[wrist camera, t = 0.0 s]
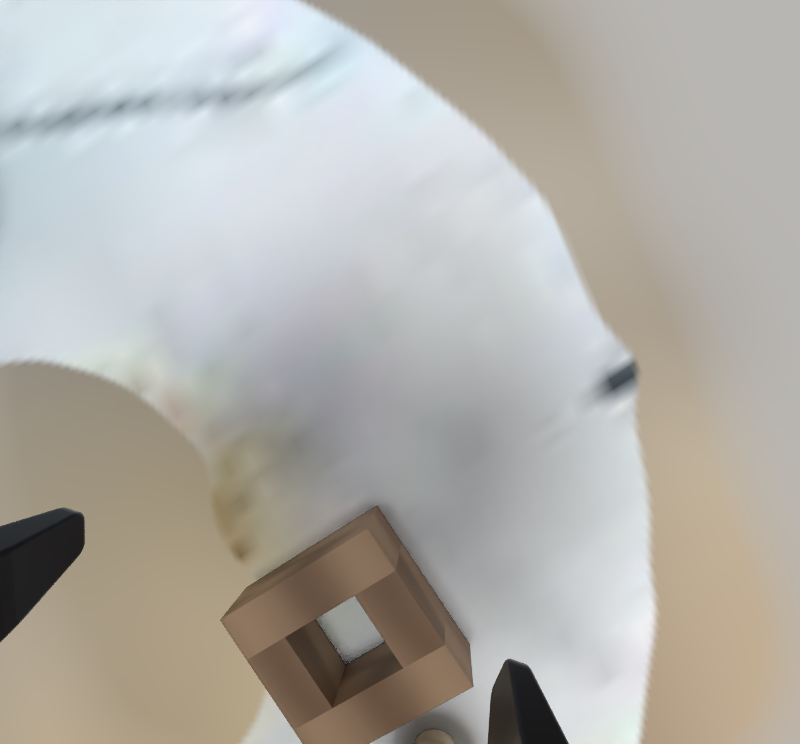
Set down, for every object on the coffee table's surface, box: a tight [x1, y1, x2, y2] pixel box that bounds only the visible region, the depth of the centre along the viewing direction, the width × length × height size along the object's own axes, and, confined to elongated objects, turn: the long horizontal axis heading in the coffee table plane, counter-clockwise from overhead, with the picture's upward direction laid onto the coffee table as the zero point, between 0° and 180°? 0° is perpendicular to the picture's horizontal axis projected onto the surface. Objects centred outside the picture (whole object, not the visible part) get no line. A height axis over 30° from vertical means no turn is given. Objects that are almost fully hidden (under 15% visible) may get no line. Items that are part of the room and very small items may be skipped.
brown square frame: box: [220, 506, 473, 744], centre depth 23 cm, size 9×9×3 cm
